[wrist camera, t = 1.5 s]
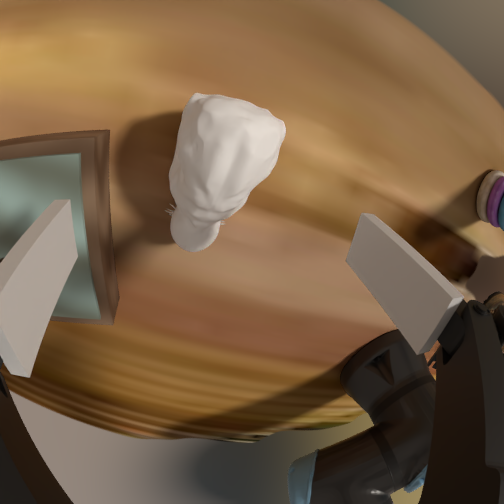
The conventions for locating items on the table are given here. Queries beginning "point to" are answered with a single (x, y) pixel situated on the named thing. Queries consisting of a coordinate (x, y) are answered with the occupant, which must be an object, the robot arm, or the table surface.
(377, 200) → the table surface
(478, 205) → the stacking toy
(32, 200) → the square wooden tray
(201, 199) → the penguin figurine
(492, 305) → the owl figurine
